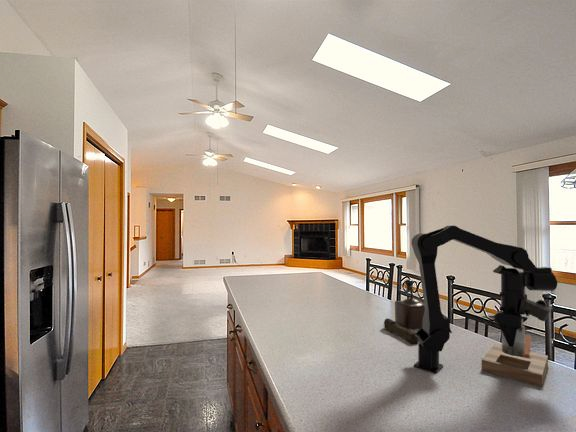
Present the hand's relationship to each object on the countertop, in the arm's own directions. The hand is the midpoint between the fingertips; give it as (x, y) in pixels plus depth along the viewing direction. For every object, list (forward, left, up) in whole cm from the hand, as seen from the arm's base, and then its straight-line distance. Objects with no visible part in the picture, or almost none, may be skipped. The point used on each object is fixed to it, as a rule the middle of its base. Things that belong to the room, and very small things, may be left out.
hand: (512, 343), depth 94 cm
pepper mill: (+26, +41, -8) cm, 49 cm away
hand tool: (+7, +37, -9) cm, 39 cm away
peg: (0, 0, -3) cm, 3 cm away
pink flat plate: (+10, 0, -3) cm, 11 cm away
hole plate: (+4, 0, -8) cm, 9 cm away
